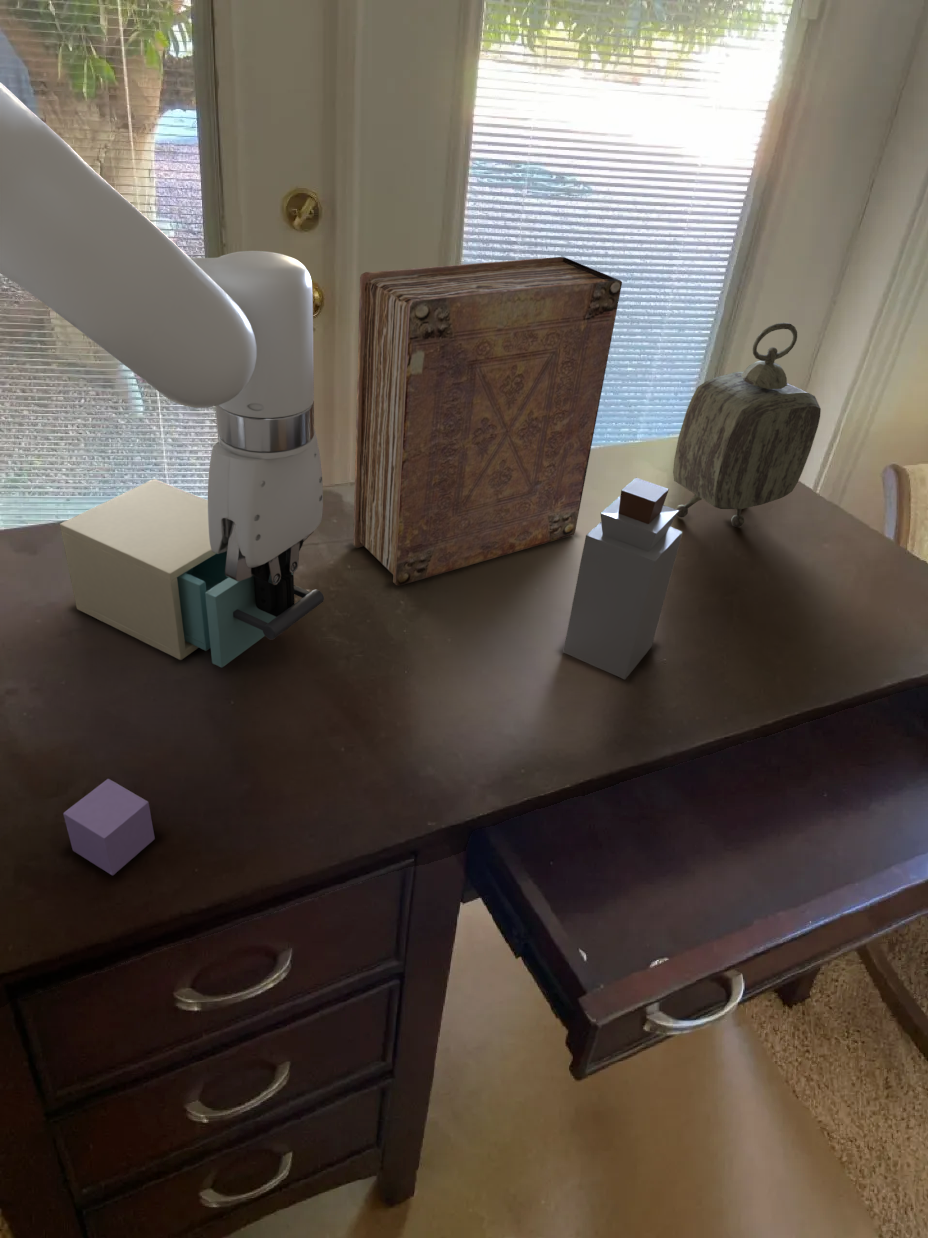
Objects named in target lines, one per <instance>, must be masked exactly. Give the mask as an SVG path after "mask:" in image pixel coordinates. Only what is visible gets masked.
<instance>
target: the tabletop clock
mask: <svg viewBox="0 0 928 1238" xmlns="http://www.w3.org/2000/svg"><path fill="white" fill-rule="evenodd" d="M778 330H788V331H790V332H791V335H792V339H791V342H790V344H789V345H788V346H787V347H786V348H784V349H783V350H781V351H779V352H778V349H777V348H776V347H774V346H772V347H769V348H768V350H767V353H766V354H762V353H759V352H758V346H759V344H760V342H761V341H762V340H763V339H764V338H765V337H766V336H767V335H768V334H770V333H771V332H774V331H778ZM797 340H798V330H797V329H796V327H795V326H794V325H793V324H792V323H789V322H779V323H775V324H772V325H769V326H767V327H766V328H765V329H763V330H762V331H761V332H760V333H759V334H758V336H757V337H756V338H755V340H754V342H753V344H752V355H753V356H754V358H755V359H757V361H755V362H753V363H751V364H750V365H748V366H747V367H746V368H745V369H744V370H743V371H735V372H731V373H727V374H724V375H720V376H716V377H712V378H710V379H708V380H706V381H704V382H703V383H701V384H700V385H698V386H697V388H696V390H695V391H694V393H693V395H692V396H691V399H690V401H689V404H688V406H687V409H686V411H685V415H684V418H683V422H682V425H681V428H680V431H679V434H678V437H677V443H676V448H675V455H674V460H673V468H672V474H673V475H672V476H673V481H674V482H675V483H677V484H678V485H680V486H682V487H683V488H684V489H686V490H687V491H689V492H691V493H692V494H693V496H692V497H691V499H689V501H687V503H685V504H678V505H677V506H676V507H675V509H676V510H679V511H678V513H677V515H676V517H678V518H685V517H686V516H687V515H688V514H689V508H690V507H692V506H693V505H695V504H696V503H697V502H699V501H701V500H703V501H705V502H707V503H708V504H709V505H711V506H713V507H714V508H717V509H720V510H735V513H736V514H734V515H733V516H732V517H731V521H730V522H731V525H732V527H735V528H740V527H743V526H744V524H745V522H746V521H745V517H744V515H742V510H743V509H747V508H748V509H749V508H753V507H757V506H762V505H765V504H768V503H771V502H774V501H777V500H779V499H783V498H784V497H786V496H788V495H789V494H790V493H792V492H793V491H794V490H795V488H796V486H797V484H798V482H799V480H800V478H801V476H802V474H803V471H804V469H805V466H806V463H807V460H808V458H809V455H810V453H811V451H812V447H813V445H814V442H815V441H814V440H815V438H816V434H817V431H818V428H819V424H820V420H821V412H822V409H821V406H820V404H819V402H818V399H817V398H816V396H815V395H813V394H812V393H810V392H808V391H805V390H803V389H801V388H799V387H797V386H795V385H793V384H790V383H788V379H787V374H786V372H785V370H784V369H783V367H782V366H781V364H779V363H777V362H776V360H778V359H781V358H783V357H784V356H787V355H788V354H789V353H790V352H791V350H792V349H793V348H794V347H795V345H796V343H797Z"/></svg>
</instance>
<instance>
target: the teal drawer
mask: <svg viewBox="0 0 928 1238" xmlns="http://www.w3.org/2000/svg"><path fill="white" fill-rule="evenodd" d="M226 557H227V551H225V552H223V553H219V554H217V553H216V554H215V555H213V556H211V557H210V558H208V559H207V560H205V561H203V562H202V563H200V564H198V565H197V566H195V567H193V568H192V569H190V570H188V571H187V572H185V573H183V574H182V575H180V576H178V577H177V581H178V589H179V597H180V606H181V614H182V622H183V631H184V639H185V641H186V642H188V643H191V644H193V645H195V646H197V647H199V648H198V649H201V650H203V651H205V652H207V651H208V650H210V656H211V657H210V658H211V663H212V664H213V665H216V666H217V667H219V668H224V667H225V666H226V665H228V664H229V663H230V662H232V661H233V660H234V659H236V658H237V657H238V656H240V655H242V654H243V653H244V652H245V651H247V650H248V649H249V648H251V647H252V646H253V645H255V644H256V643H257V642H259V641H260V640H262V639H263V638H264V637H265V638H267V639H268V640H275V639H276V638H277V637H279V636H280V635H281V634H283V633H284V632H285V631H286V630H288V629H289V628H290V627H292V626H293V625H294V624H296V623H297V622H299V621H300V620H302V619H303V618H304V617H305V616H306V615H308V614H309V613H310V612H312V611H313V610H315V609H316V608H318V607H319V606H320V605H321V604H323V603H324V601H325V596H324V594H323V593H322V591H321V590H319V589H313V590H311V591H309V590H307V589H305V588H302V587H300V586H297V585H295V584H294V596H297V597H299V598H300V599H299V600H298V601H296V602H294V605H292V606H291V607H290V608H288V609H287V610H285V611H284V612H283V613H281V614H280V615H279V616H277V617H275V616H273V615H271V614H269V613H266V612H264V611H262V610H260V609H258V608H257V607H256V602H255V586H254V576H251V578H248V579H245V580H242V581H236V580H233V579H231V578H229V577H226V576H225V567H226ZM264 564H265V563H264ZM291 574H292V575H294V573H291Z"/></svg>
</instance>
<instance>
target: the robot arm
mask: <svg viewBox="0 0 928 1238" xmlns="http://www.w3.org/2000/svg"><path fill="white" fill-rule="evenodd" d="M0 274H1V275H2V276H4V277H5V278H7V279H8V280H10V281H12V282H13V283H14V284H16V285H18V286H19V287H21V288H22V289H24V291H26V292H28V293H29V294H30V295H31V296H32V297H34V298H36V299H37V300H38V301H40V302H42V304H44V305H45V306H47V307H48V308H50V309H51V310H52V311H53V312H55V313H56V314H57V315H59V316H60V317H61V318H63V320H64V321H67V323H69V324H70V325H71V326H73V327H75V328H76V329H77V330H78V331H79V332H81V333H82V334H84V335H85V336H86V337H87V338H89V339H90V340H91V341H93V342H94V343H95V344H96V345H97V346H99V347H100V348H101V349H103V350H104V351H106V352H107V353H108V354H109V355H111V356H112V357H113V358H115V359H116V360H117V361H118V362H120V363H121V364H122V365H123V366H125V367H126V368H128V369H129V370H130V371H131V372H133V373H134V374H135V375H137V376H138V377H139V378H141V379H142V380H143V381H144V382H146V383H147V384H148V385H149V386H151V387H152V388H153V389H154V390H156V391H157V392H158V393H159V394H161V395H162V396H163V397H165V398H166V399H168V400H169V401H171V402H173V403H176V404H178V405H181V406H183V407H187V408H188V407H189V408H193V409H206V408H207V409H208V408H213V407H215V414H216V424H217V425H216V426H217V436H218V441H217V442H216V443H214V444H213V445H212V447H211V454H210V458H209V459H210V460H209V461H210V462H209V468H208V479H207V480H208V482H207V483H208V484H207V500H208V527H209V540H210V546H211V550H212V551H213V552H214V553H217V554H219V553H223V552H225V551H227V557H226V567H225V576H226V577H229V578H231V579H233V580H236V581H242V580H245V579H248V578H251V576H254V586H255V602H256V607H257V608H258V609H260V610H262V611H264V612H266V613H269V614H271V615H273V616H275V617H277V616H279V615H280V614H281V613H283V612H284V611H285V610H287V609H288V608H290V607H291V606H292V605H294V604H295V594H294V585H295V581H294V579H295V578H294V575H292V574H291V573H293V574H294V573H296V572H297V570H298V567H299V558H300V551H301V549H302V547H303V545H304V542H306V540H307V539H308V538H309V537H310V536H312V534H313V533H314V532H315V531H316V530H317V529H318V527H319V526H320V525H321V523H322V520H323V515H324V514H323V513H324V484H323V482H324V481H323V471H322V469H323V468H322V462H321V460H322V459H321V453H320V447H319V442H318V436H317V431H316V429H315V375H314V373H315V370H314V367H315V366H314V365H315V364H314V309H313V308H314V306H313V305H314V303H313V300H314V299H313V297H314V296H313V282H312V277H311V274H310V272H309V270H308V269H307V267H306V266H305V265H304V264H303V263H302V262H300V261H299V260H298V259H296V258H294V257H291V256H289V255H286V254H283V253H278V252H273V251H266V250H263V251H262V250H241V251H234V252H229V253H226V254H223V255H220V256H217V257H194V256H193V257H192V256H189V255H188V254H187V253H186V252H184V251H183V250H182V249H181V247H179V246H178V245H177V244H176V243H175V242H174V241H173V240H172V239H171V238H169V237H168V236H167V234H165V233H164V232H163V231H162V230H161V229H160V228H159V227H158V226H156V225H155V223H154V222H152V221H151V220H150V219H149V218H148V217H147V216H146V215H145V214H143V212H141V211H140V210H139V209H138V208H137V207H136V206H134V204H133V203H131V202H130V201H129V200H128V199H127V198H125V197H124V196H123V195H122V194H121V193H120V192H118V190H117V189H115V188H114V187H113V186H112V185H111V184H110V183H109V182H108V181H107V180H106V179H105V178H103V177H102V176H101V175H100V174H99V173H98V172H97V171H95V170H94V169H93V168H92V167H91V166H90V165H89V163H87V162H86V161H85V160H84V159H83V158H82V157H81V155H79V154H78V153H77V152H76V151H75V150H74V149H73V147H71V145H69V143H67V142H66V141H65V140H64V139H63V138H62V137H61V136H60V135H59V134H58V133H56V132H55V130H53V129H52V128H51V127H50V126H49V125H48V124H47V123H45V122H44V121H43V120H42V119H41V118H40V117H39V116H38V115H36V114H35V113H34V112H33V111H32V110H31V109H30V108H29V107H27V105H26V104H24V103H23V102H22V101H21V100H20V99H19V98H18V97H17V96H16V95H15V94H14V93H13V92H12V91H11V90H9V88H7V87H6V85H4V83H2V82H1V81H0ZM264 563H265V564H264Z"/></svg>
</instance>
